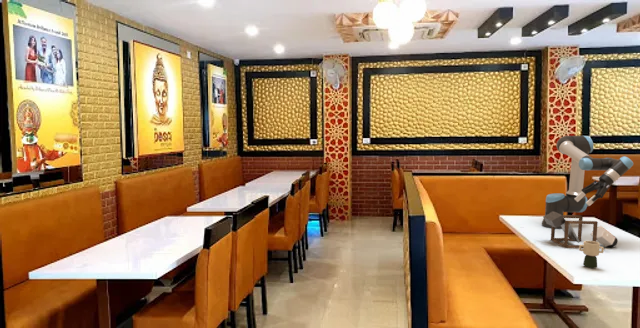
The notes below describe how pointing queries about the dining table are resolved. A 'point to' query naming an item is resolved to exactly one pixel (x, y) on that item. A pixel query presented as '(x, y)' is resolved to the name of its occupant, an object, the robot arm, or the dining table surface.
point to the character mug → (591, 253)
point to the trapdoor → (557, 220)
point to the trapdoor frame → (580, 222)
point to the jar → (605, 237)
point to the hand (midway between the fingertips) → (581, 202)
